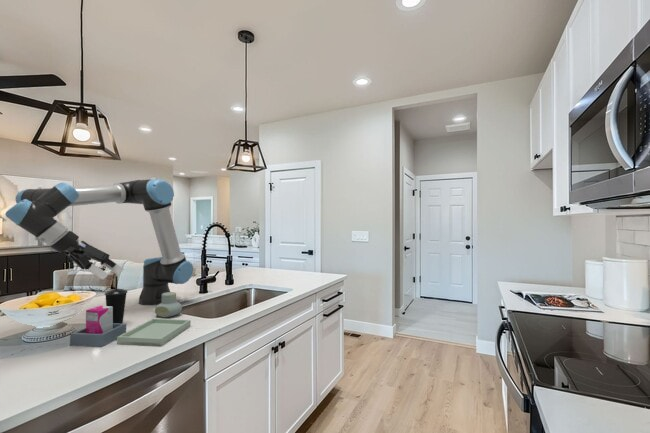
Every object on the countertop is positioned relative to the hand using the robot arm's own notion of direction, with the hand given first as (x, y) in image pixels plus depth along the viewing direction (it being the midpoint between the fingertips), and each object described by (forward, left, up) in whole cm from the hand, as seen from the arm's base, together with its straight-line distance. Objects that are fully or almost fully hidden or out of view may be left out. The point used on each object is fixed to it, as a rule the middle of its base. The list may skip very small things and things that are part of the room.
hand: (113, 274), depth 116 cm
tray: (-1, +17, -22) cm, 28 cm away
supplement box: (+6, 0, -23) cm, 23 cm away
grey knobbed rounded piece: (-24, +8, -23) cm, 34 cm away
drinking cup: (-8, -5, -22) cm, 25 cm away
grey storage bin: (+6, 0, -22) cm, 23 cm away
